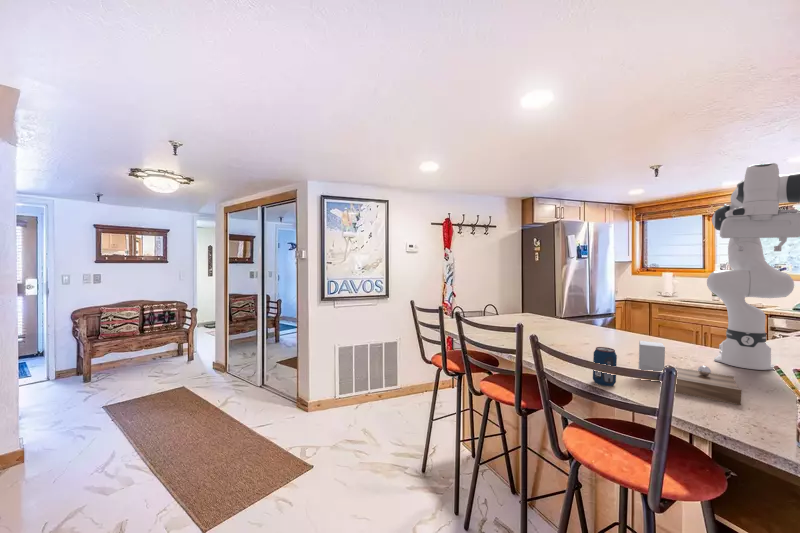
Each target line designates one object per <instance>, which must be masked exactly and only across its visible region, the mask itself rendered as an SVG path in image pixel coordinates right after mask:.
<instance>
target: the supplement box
mask: <svg viewBox="0 0 800 533" xmlns="http://www.w3.org/2000/svg"><path fill="white" fill-rule="evenodd" d="M665 353H666V347H665V345H664V344H663V342H655V341H654V342H653V341H645V340H639V343H638V369H641V370H653V371H662V370H663V368H664V369H665V359H666V357H665V355H666V354H665Z"/></svg>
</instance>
